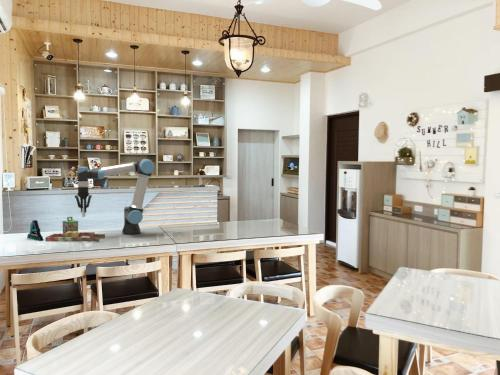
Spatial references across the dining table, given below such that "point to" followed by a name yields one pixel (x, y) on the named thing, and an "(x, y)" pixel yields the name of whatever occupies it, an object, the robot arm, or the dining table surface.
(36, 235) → the decorative sign
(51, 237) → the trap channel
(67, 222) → the green lantern
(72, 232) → the ochre block
